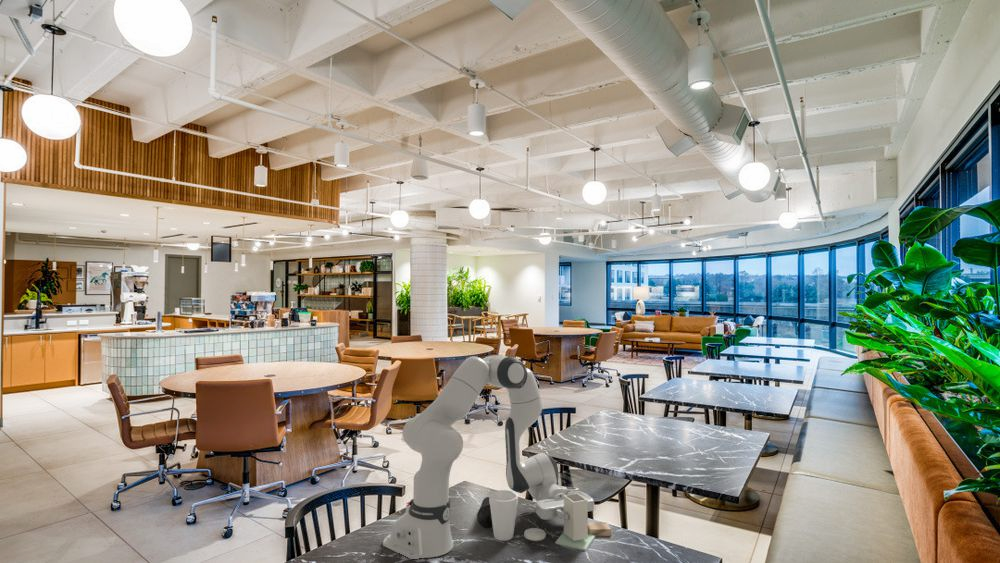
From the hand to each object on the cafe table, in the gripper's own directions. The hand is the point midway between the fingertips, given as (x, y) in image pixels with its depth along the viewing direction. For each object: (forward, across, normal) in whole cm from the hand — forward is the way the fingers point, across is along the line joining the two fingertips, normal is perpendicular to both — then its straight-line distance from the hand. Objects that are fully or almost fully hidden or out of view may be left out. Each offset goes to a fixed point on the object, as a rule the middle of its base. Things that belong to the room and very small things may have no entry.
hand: (577, 515), depth 160 cm
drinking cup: (-33, -18, +6) cm, 38 cm away
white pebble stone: (-9, -11, +8) cm, 16 cm away
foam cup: (-13, -20, +8) cm, 25 cm away
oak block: (-3, +10, +8) cm, 13 cm away
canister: (-1, 0, +6) cm, 7 cm away
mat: (-1, 0, +8) cm, 8 cm away
